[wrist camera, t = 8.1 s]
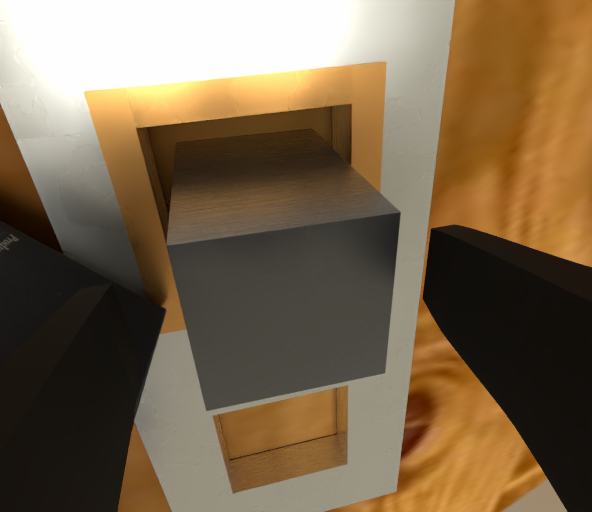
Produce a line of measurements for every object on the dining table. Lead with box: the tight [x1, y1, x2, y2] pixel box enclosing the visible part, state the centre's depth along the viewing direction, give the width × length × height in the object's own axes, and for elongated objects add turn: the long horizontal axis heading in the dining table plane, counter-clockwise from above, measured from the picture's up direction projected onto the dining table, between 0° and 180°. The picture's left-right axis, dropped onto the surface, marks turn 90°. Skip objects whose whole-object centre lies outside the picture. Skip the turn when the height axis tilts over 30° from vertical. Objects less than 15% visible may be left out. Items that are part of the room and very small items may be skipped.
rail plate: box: [0, 0, 455, 512], centre depth 17 cm, size 26×12×2 cm, turn 4°
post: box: [166, 129, 401, 411], centre depth 12 cm, size 4×4×7 cm
